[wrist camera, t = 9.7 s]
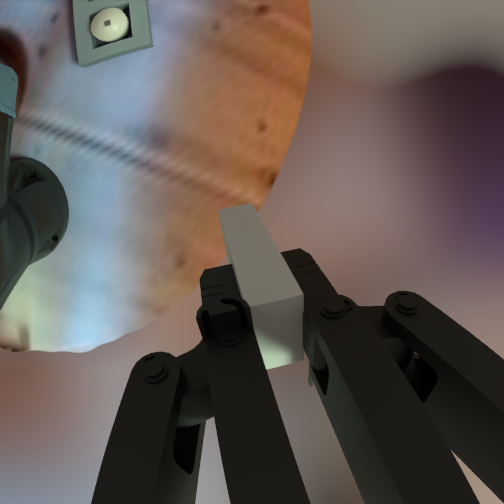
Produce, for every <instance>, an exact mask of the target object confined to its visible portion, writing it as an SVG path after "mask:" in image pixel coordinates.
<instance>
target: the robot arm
mask: <svg viewBox="0 0 504 504" xmlns="http://www.w3.org/2000/svg"><path fill="white" fill-rule="evenodd" d="M17 88H18V77H17V75H16V73H15V71H14V70H13V69H12V68H10V67H8V66H6V65H2V64H0V310H1V309H2V307H3V305H4V303H5V302H6V300H7V298H8V297H9V295H10V293H11V292H12V290H13V288H14V287H15V285H16V284H17V282H18V280H19V279H20V277H21V276H22V274H23V273H24V271H25V270H26V268H27V267H28V265H30V264H32V263H34V262H36V261H38V260H40V259H42V258H44V257H46V256H47V255H49V254H50V253H51V252H52V251H53V250H54V249H55V248H56V247H57V245H58V244H59V242H60V241H61V239H62V238H63V236H64V234H65V232H66V229H67V225H68V219H69V208H68V201H67V197H66V194H65V191H64V189H63V187H62V185H61V183H60V181H59V180H58V178H57V177H56V175H55V174H54V173H53V172H52V171H51V170H50V169H49V168H48V167H47V166H45V165H44V164H42V163H40V162H38V161H36V160H33V159H27V158H21V159H16V160H13V161H11V162H10V149H11V139H12V130H13V122H14V119H15V118H16V113H15V102H16V95H17ZM219 216H220V221H221V226H222V232H223V237H224V242H225V248H226V253H227V258H228V263H229V265H224V266H219V267H215V268H210V269H205V270H204V272H203V274H202V275H201V277H200V288H201V297H202V306H201V307H200V308H199V310H198V311H197V315H196V320H197V323H198V326H199V329H200V332H201V335H202V338H203V339H202V340H201V342H200V343H199V344H198V345H197V346H196V347H195V348H194V349H192V350H191V351H189V352H187V353H184V354H182V355H180V356H178V357H174V356H173V355H171V354H170V353H166V352H154V353H150V354H148V355H146V356H144V357H142V358H141V359H140V360H139V361H138V362H136V364H135V366H134V367H133V369H132V371H131V374H130V377H129V380H128V382H127V385H126V388H125V391H124V394H123V397H122V400H121V403H120V406H119V409H118V412H117V415H116V418H115V421H114V424H113V427H112V431H111V434H110V437H109V440H108V444H107V447H106V451H105V454H104V457H103V461H102V464H101V468H100V471H99V475H98V479H97V483H96V486H95V490H94V494H93V498H92V502H91V504H195V499H196V491H197V484H198V476H199V468H200V461H201V453H202V446H203V438H204V431H205V424H206V420H208V419H210V418H212V417H214V418H215V424H216V430H217V436H218V442H219V447H220V453H221V458H222V464H223V469H224V474H225V479H226V484H227V489H228V494H229V498H230V503H231V504H310V501H309V498H308V495H307V492H306V489H305V487H304V484H303V481H302V478H301V475H300V472H299V469H298V466H297V463H296V460H295V457H294V454H293V451H292V448H291V446H290V442H289V439H288V436H287V433H286V430H285V427H284V424H283V420H282V418H281V415H280V411H279V409H278V405H277V402H276V399H275V396H274V392H273V389H272V386H271V383H270V380H269V377H268V374H267V369H271V368H275V367H279V366H282V365H286V364H290V363H294V362H297V361H301V360H304V350H305V353H306V355H307V357H308V359H309V379H308V381H309V386H312V385H313V382H314V384H315V386H316V389H317V391H318V394H319V396H320V398H321V401H322V403H323V405H324V408H325V410H326V412H327V415H328V417H329V420H330V422H331V424H332V427H333V429H334V431H335V434H336V436H337V438H338V441H339V443H340V446H341V448H342V450H343V453H344V455H345V457H346V460H347V462H348V465H349V467H350V469H351V472H352V474H353V477H354V479H355V481H356V484H357V486H358V489H359V491H360V493H361V496H362V498H363V500H364V502H365V504H480V503H479V501H478V500H477V497H476V495H475V494H474V492H473V490H472V488H471V486H470V484H469V482H468V480H467V478H466V477H465V475H464V473H463V471H462V469H461V468H460V466H459V464H458V462H457V461H456V459H455V457H454V455H453V453H452V452H451V450H452V451H453V452H454V453H455V454H456V455H457V456H458V457H459V458H460V459H461V460H462V461H463V462H464V463H465V464H466V465H467V466H468V468H469V469H471V471H472V472H474V474H475V475H476V476H477V477H478V478H479V479H480V480H481V481H482V482H483V483H484V484H485V485H486V486H487V487H488V488H489V489H490V490H492V492H493V493H494V494H495V495H496V496H497V497H498V498H499V499H500V500H501V501H502V502H503V503H504V359H502V358H501V357H500V356H499V355H497V354H496V353H495V352H494V351H493V350H491V349H490V348H489V347H488V346H486V345H485V344H484V343H482V342H481V341H480V340H479V339H477V338H476V337H475V336H474V335H472V334H471V333H470V332H469V331H467V330H466V329H465V328H463V327H462V326H461V325H459V324H458V323H457V322H455V321H454V320H453V319H451V318H450V317H449V316H447V315H446V314H445V313H443V312H442V311H441V310H439V309H438V308H437V307H435V306H434V305H432V304H431V303H430V302H428V301H427V300H426V299H424V298H423V297H421V296H420V295H418V294H416V293H413V292H409V291H397V292H395V293H392V294H390V295H389V296H388V297H387V298H386V302H385V305H384V306H357V305H356V303H355V302H353V301H352V300H351V299H350V298H348V297H346V296H343V295H338V293H337V292H336V290H335V289H334V287H333V286H332V285H331V283H330V282H329V280H328V279H327V277H326V276H325V275H324V273H323V272H322V271H321V269H320V268H319V266H318V265H317V264H316V262H315V260H314V259H313V258H312V256H311V255H310V254H309V253H307V252H305V251H303V250H302V249H300V248H299V249H294V250H290V251H285V252H280V251H279V249H278V248H277V246H276V244H275V242H274V240H273V239H272V237H271V235H270V233H269V232H268V230H267V228H266V227H265V225H264V223H263V221H262V219H261V218H260V216H259V214H258V213H257V211H256V209H255V207H254V206H253V204H252V203H250V204H245V205H240V206H234V207H229V208H224V209H219ZM414 352H415V353H417V354H418V355H417V354H415V353H414ZM450 449H451V450H450Z"/></svg>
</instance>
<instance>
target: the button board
mask: <svg viewBox="0 0 504 504" xmlns="http://www.w3.org/2000/svg"><path fill="white" fill-rule="evenodd" d="M107 8H118V9H120V10H125V9H128V8H129V10H130V19H131V28H132V36H133V37H130V38H127V39H123V40H120V41H117V42H113V43H110V44H107V45H104V46H101V47H98V48H97V39H96V37H95V36H94V35H93V34H92V32H91V23H92V20H93V19H94V17H95V16H96V15H97V14H98V13H99V12H101V11H102V10H104V9H107ZM73 14H74V27H75V38H76V47H77V56H78V63H79V66H82V67H87V66H90V65H93V64H96V63H99V62H101V61H105V60H108V59H111V58H114V57H117V56H120V55H124V54H127V53H131V52H135V51H138V50H142V49H146V48H150V47H153V41H152V34H151V26H150V18H149V9H148V0H73Z"/></svg>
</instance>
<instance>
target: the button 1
mask: <svg viewBox="0 0 504 504" xmlns="http://www.w3.org/2000/svg"><path fill="white" fill-rule="evenodd" d="M129 30H130V21H129V19H128V18H127V16H126V15H125V14H124V13H123V12H122V11H121V10H120V9H118V8H107V9H104V10H102V11H101V12H99V13H98V14H97V15H96V16H95V17H94V19H93V20H92V23H91V32H92V34H93V35H94V36H95V37H96V38H98V39H99V40H101V41H103V42H105V43H113V42H117V41H120V40H122V39H123V38H124V37H125V36H126V35H127V34H128V32H129Z"/></svg>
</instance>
